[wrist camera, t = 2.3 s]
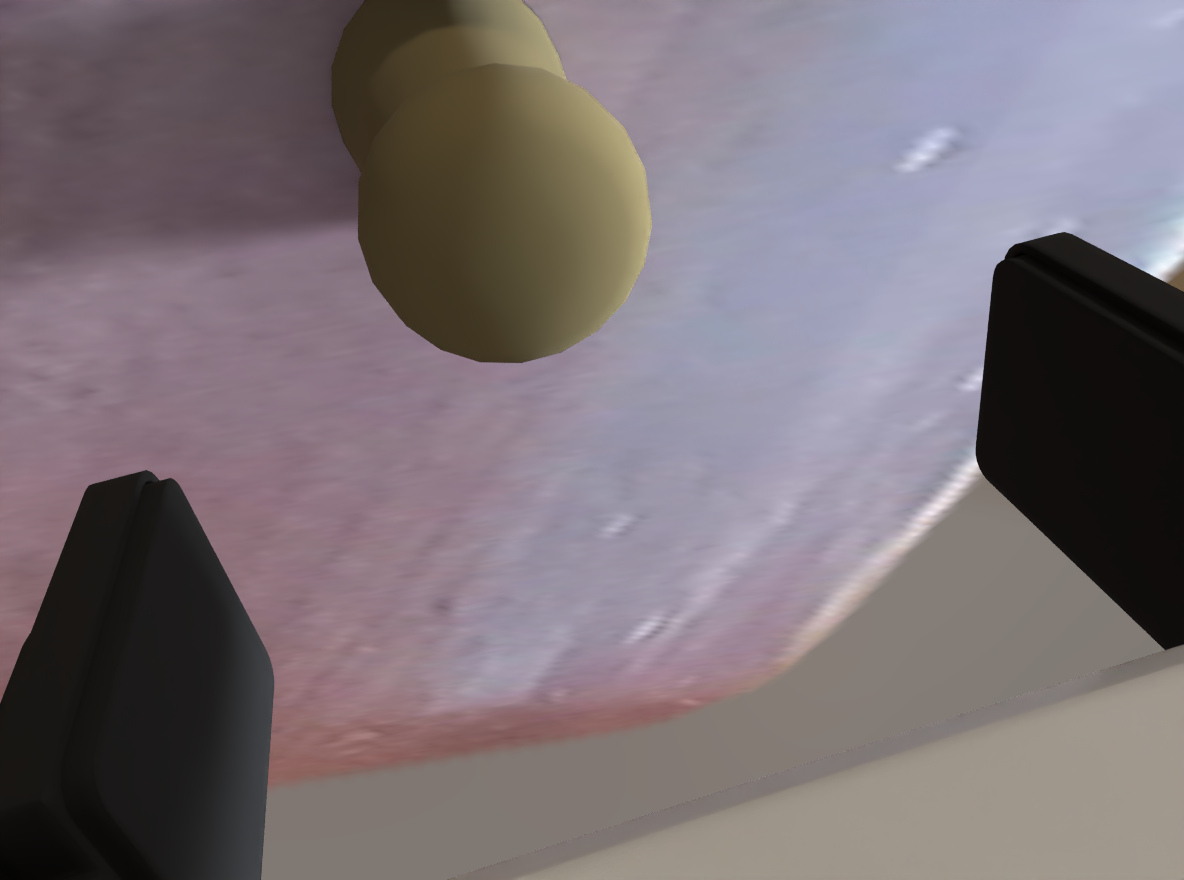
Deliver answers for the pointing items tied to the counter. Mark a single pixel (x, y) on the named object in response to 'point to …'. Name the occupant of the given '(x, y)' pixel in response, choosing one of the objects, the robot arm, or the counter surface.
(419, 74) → the cork
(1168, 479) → the robot arm
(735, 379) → the counter surface
